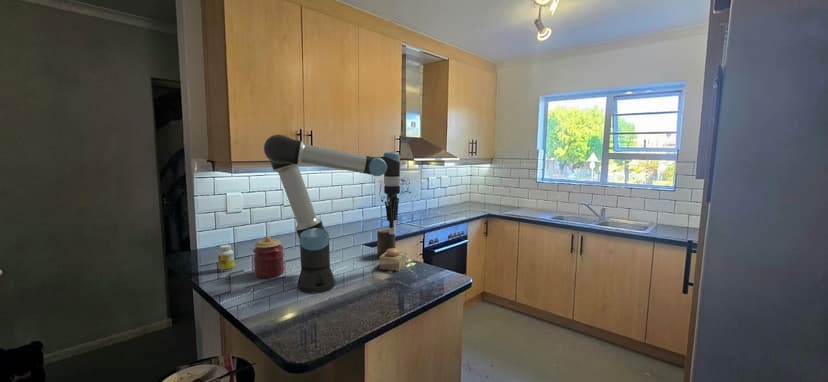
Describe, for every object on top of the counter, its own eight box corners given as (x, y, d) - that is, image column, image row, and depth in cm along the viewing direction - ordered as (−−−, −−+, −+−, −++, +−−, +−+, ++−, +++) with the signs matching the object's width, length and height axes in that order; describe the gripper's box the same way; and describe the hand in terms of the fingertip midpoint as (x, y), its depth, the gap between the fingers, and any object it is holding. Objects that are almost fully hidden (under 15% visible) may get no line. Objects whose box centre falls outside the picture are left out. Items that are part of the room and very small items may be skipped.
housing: (399, 271, 163) (399, 258, 163) (379, 268, 166) (379, 256, 166) (406, 264, 173) (406, 252, 172) (387, 262, 176) (387, 250, 175)
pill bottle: (217, 269, 166) (215, 246, 164) (231, 266, 170) (230, 243, 169) (222, 273, 161) (220, 248, 160) (236, 269, 166) (235, 245, 164)
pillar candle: (391, 258, 181) (391, 230, 180) (374, 256, 184) (374, 229, 183) (398, 253, 190) (398, 226, 189) (381, 251, 194) (381, 225, 192)
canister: (247, 276, 157) (245, 238, 155) (268, 267, 169) (266, 231, 167) (270, 280, 152) (268, 241, 150) (290, 270, 164) (288, 234, 162)
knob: (396, 268, 165) (396, 252, 164) (384, 266, 167) (384, 251, 166) (401, 263, 171) (401, 248, 170) (389, 262, 173) (389, 247, 172)
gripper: (394, 187, 157) (394, 237, 160) (404, 184, 169) (404, 231, 172) (379, 186, 159) (379, 236, 162) (389, 183, 172) (390, 230, 175)
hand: (392, 233), depth 167 cm, fingers closed
